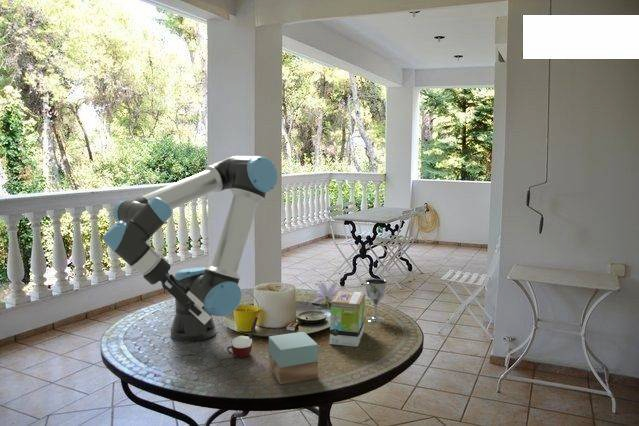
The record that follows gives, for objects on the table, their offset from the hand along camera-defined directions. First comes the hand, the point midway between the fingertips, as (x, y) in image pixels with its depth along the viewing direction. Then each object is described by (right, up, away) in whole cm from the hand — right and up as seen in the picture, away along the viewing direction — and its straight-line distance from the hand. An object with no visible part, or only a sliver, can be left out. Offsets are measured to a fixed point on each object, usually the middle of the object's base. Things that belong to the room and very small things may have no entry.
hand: (204, 314), depth 152 cm
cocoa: (+11, -14, +7) cm, 19 cm away
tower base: (+27, -16, -5) cm, 32 cm away
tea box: (+44, -13, +23) cm, 51 cm away
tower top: (+27, -11, -6) cm, 29 cm away
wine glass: (+56, -11, +42) cm, 71 cm away
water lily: (+38, -8, +61) cm, 72 cm away
